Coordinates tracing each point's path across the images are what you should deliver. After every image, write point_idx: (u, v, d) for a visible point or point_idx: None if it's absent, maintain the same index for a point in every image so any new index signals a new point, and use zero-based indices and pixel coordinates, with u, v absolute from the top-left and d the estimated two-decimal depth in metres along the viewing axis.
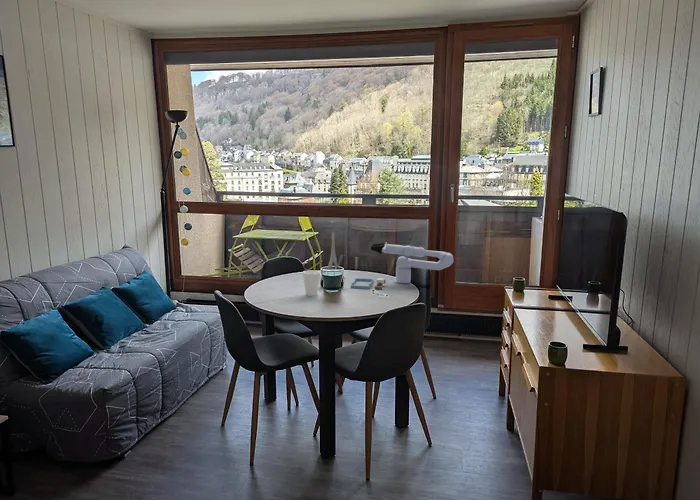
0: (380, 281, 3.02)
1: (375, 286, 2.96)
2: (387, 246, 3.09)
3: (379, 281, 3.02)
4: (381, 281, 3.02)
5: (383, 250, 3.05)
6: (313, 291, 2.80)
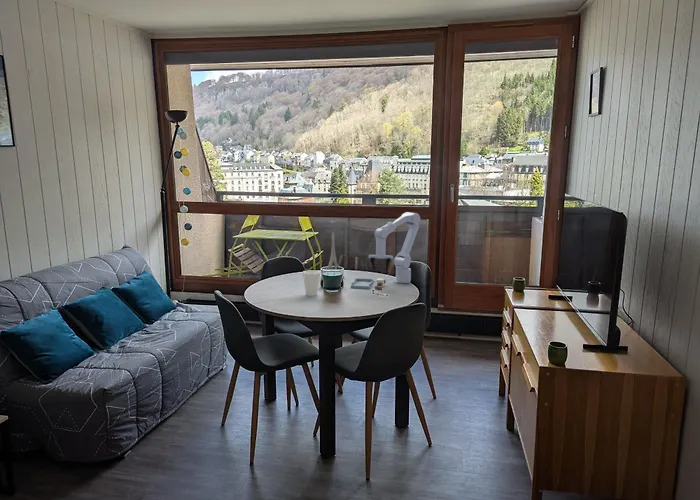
0: (380, 281, 3.02)
1: (375, 286, 2.96)
2: (383, 254, 2.99)
3: (379, 281, 3.02)
4: (381, 281, 3.02)
5: (392, 257, 3.00)
6: (313, 291, 2.80)
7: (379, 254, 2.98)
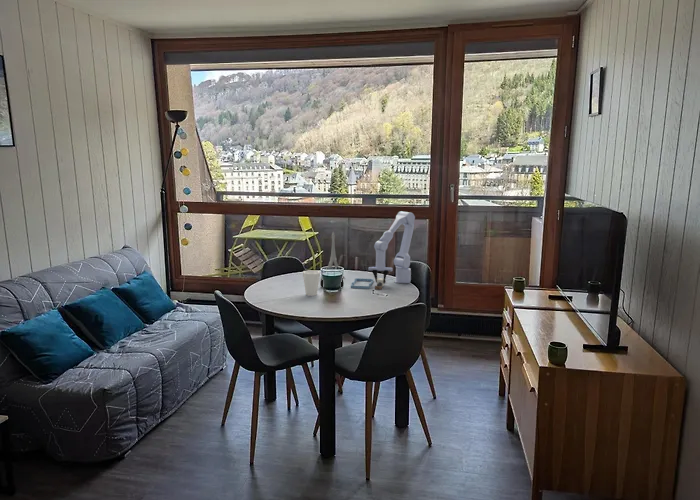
0: (380, 281, 3.02)
1: (375, 286, 2.96)
2: (383, 267, 3.00)
3: (379, 281, 3.02)
4: (381, 281, 3.02)
5: (392, 269, 3.01)
6: (313, 291, 2.80)
7: (379, 266, 3.00)
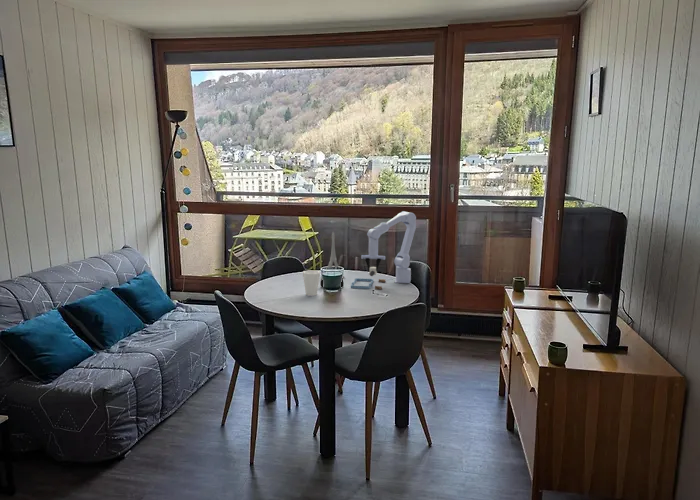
0: (373, 269, 3.01)
1: (375, 286, 2.96)
2: (376, 255, 3.00)
3: (372, 269, 3.01)
4: (374, 269, 3.01)
5: None
6: (313, 291, 2.80)
7: (372, 254, 2.99)
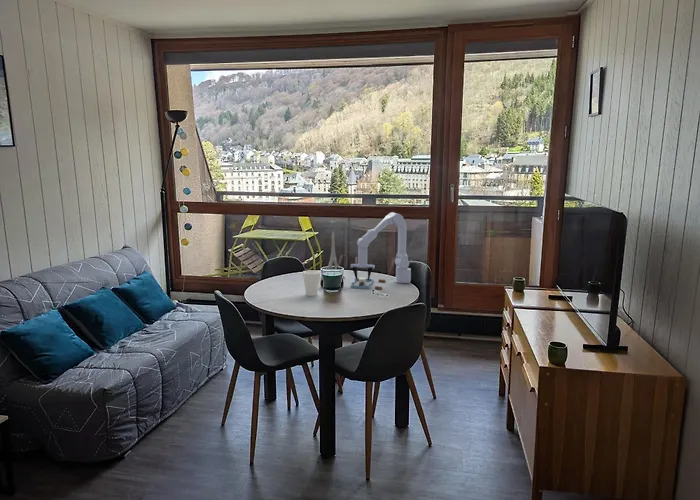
0: (362, 280, 3.04)
1: (375, 286, 2.96)
2: (365, 264, 3.02)
3: (361, 280, 3.04)
4: (363, 280, 3.04)
5: (374, 266, 3.03)
6: (313, 291, 2.80)
7: (361, 263, 3.01)
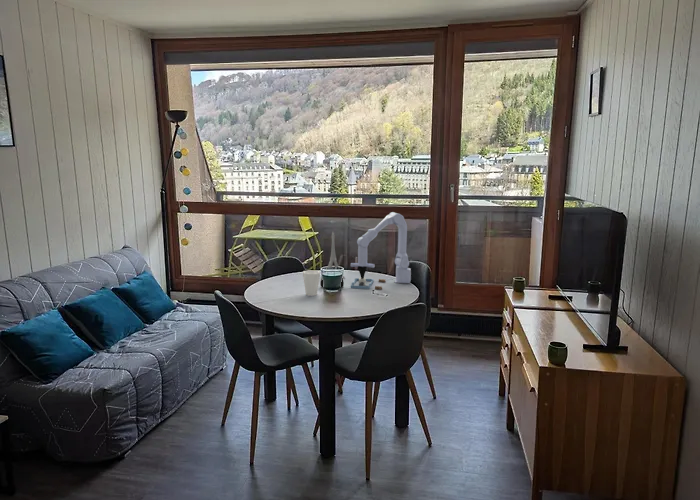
0: (362, 280, 3.04)
1: (375, 286, 2.96)
2: (365, 263, 3.02)
3: (361, 280, 3.04)
4: (363, 280, 3.04)
5: (374, 265, 3.03)
6: (313, 291, 2.80)
7: (361, 262, 3.01)
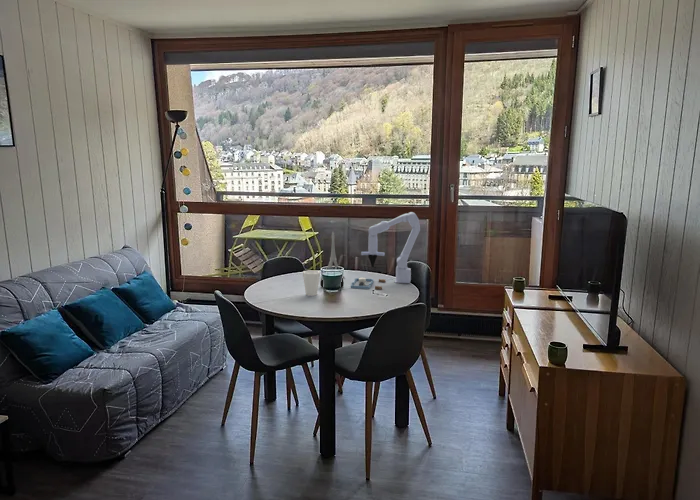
0: (362, 280, 3.04)
1: (375, 286, 2.96)
2: (376, 251, 3.09)
3: (361, 280, 3.04)
4: (363, 280, 3.04)
5: (384, 254, 3.11)
6: (313, 291, 2.80)
7: (371, 251, 3.09)
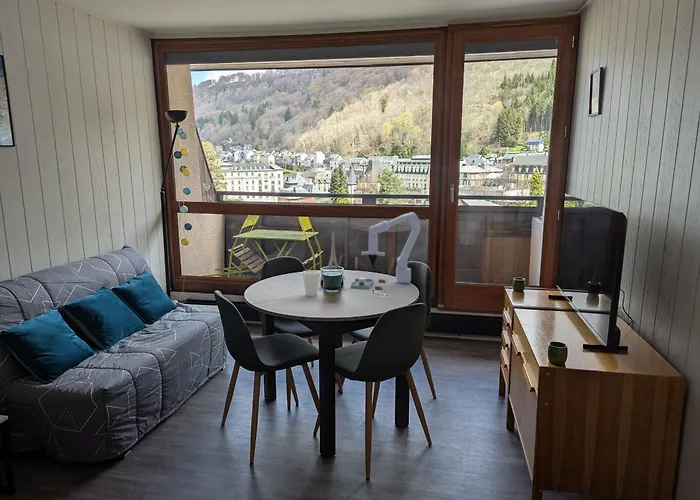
0: (362, 280, 3.04)
1: (375, 286, 2.96)
2: (376, 251, 3.10)
3: (361, 280, 3.04)
4: (363, 280, 3.04)
5: (384, 254, 3.11)
6: (313, 291, 2.80)
7: (371, 251, 3.09)
